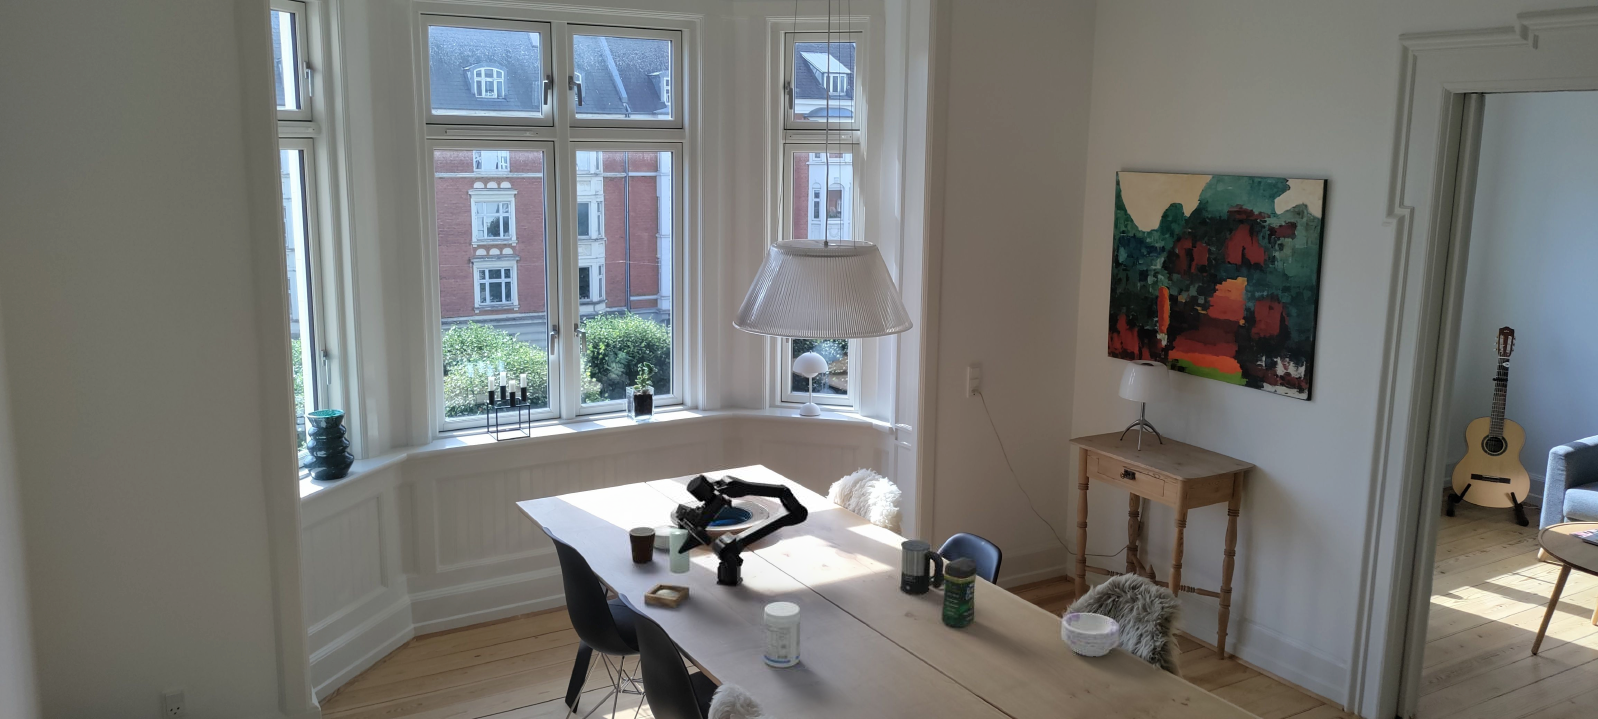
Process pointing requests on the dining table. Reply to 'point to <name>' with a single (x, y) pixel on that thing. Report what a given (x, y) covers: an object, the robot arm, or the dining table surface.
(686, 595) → the tray
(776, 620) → the supplement tub
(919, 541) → the milk frother
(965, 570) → the coffee jar
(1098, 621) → the paper bowls
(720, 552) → the robot arm
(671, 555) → the pale green rounded part
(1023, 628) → the dining table surface
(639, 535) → the coffee mug
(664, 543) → the ramekin
